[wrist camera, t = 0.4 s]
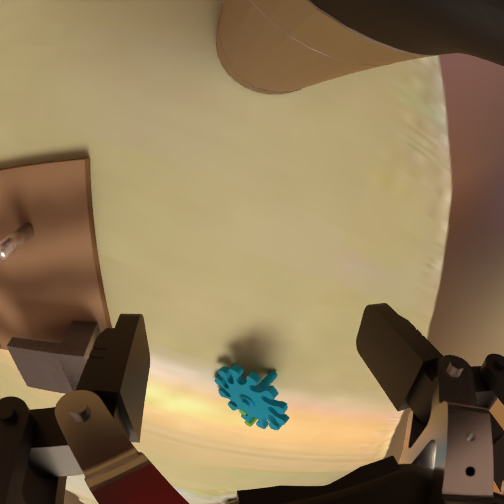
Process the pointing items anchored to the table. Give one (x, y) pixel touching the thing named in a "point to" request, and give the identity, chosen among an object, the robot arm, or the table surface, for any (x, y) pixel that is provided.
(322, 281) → the table surface
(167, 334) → the table surface
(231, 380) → the gear
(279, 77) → the robot arm
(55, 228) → the wooden latch panel
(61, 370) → the bracket
